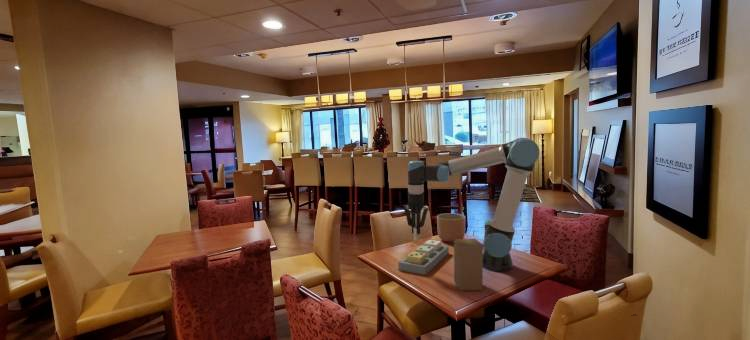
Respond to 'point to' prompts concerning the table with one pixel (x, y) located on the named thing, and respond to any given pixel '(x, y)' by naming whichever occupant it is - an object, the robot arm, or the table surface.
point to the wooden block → (468, 264)
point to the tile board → (425, 266)
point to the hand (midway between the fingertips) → (416, 240)
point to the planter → (451, 226)
